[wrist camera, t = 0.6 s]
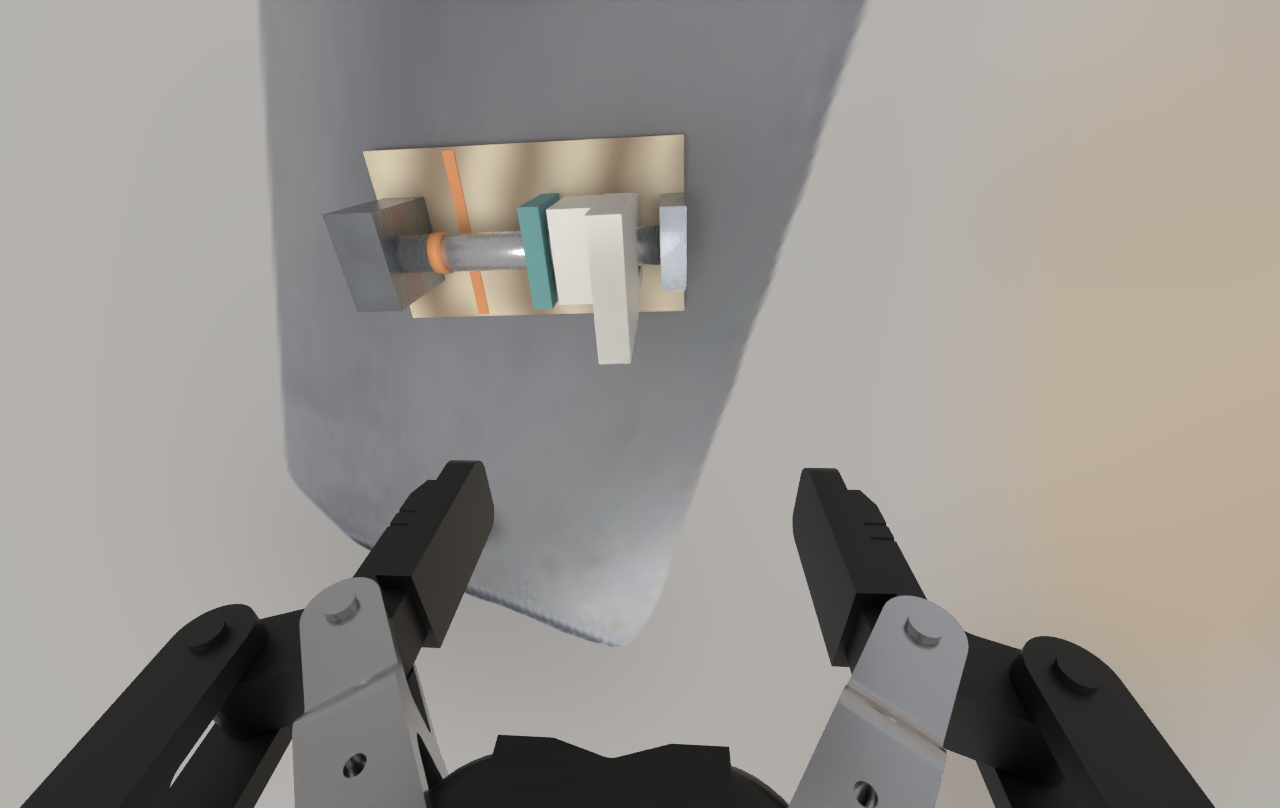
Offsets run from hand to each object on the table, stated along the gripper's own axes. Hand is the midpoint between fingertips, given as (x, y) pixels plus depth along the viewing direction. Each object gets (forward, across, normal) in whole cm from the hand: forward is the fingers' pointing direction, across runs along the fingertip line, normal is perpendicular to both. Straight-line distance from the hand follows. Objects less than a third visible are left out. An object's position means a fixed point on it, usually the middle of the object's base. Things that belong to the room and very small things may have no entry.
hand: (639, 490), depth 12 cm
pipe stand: (+28, +9, -1) cm, 29 cm away
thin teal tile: (+25, +7, -1) cm, 26 cm away
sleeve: (+25, +4, -1) cm, 25 cm away
